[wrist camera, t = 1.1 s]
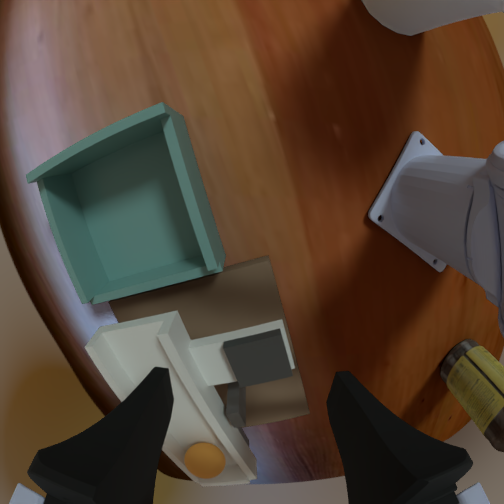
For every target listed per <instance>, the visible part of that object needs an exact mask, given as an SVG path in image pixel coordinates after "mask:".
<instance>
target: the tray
mask: <svg viewBox="0 0 504 504" xmlns="http://www.w3.org/2000/svg"><path fill="white" fill-rule="evenodd" d="M85 349H86V350H87V352H88V354H89V355H90V357H91V359H92V360H93V362H94V363H95V365H96V366H97V368H98V369H99V371H100V372H101V374H102V375H103V377H104V378H105V380H106V381H107V383H108V384H109V386H110V387H111V388H112V390H113V391H114V392H115V394H116V395H117V397H118V398H119V399H120V401H121V402H122V401H123V400H125V399H126V398H127V397H128V396H129V394H130V393H131V392H132V391H133V390H134V389H135V388H136V387H137V386H138V385H139V384H140V383H141V382H142V381H143V379H144V378H145V377H146V376H147V375H148V374H149V372H150V371H151V370H152V369H153V368H154V367H163V368H169V373H170V379H171V385H172V391H173V396H174V403H173V409H172V415H171V420H170V424H169V427H168V430H167V434H166V437H165V440H164V444H163V447H162V450H163V451H164V452H165V453H166V455H167V456H168V457H169V458H170V459H171V460H172V461H173V462H174V463H175V464H176V465H177V466H178V467H179V468H180V469H181V470H183V471H184V472H185V473H186V474H187V475H188V476H189V477H190V478H191V479H192V480H193V481H194V482H196V483H199V484H200V485H201V486H228V485H241V484H250V480H253V479H257V467H256V458H255V456H254V455H253V453H252V451H251V450H250V448H249V440H248V438H247V436H246V435H245V433H244V431H243V429H242V428H241V427H238V428H234V427H233V425H232V424H231V422H230V420H229V419H228V417H227V415H226V407H225V406H224V404H223V402H222V400H221V398H220V396H219V395H218V393H217V391H216V389H215V387H214V385H219V384H225V383H230V382H236V381H238V383H239V386H240V388H241V387H247V386H252V385H257V384H261V383H266V382H270V381H275V380H279V379H283V378H288V377H292V376H293V373H292V369H294V368H295V366H294V361H293V357H292V354H291V350H290V346H289V342H288V339H287V335H286V331H285V328H284V324H283V320H282V319H281V320H277V321H273V322H269V323H265V324H261V325H257V326H253V327H249V328H244V329H240V330H236V331H231V332H227V333H222V334H218V335H213V336H208V337H204V338H199V339H194V340H191V339H190V337H189V335H188V333H187V330H186V328H185V326H184V324H183V322H182V320H181V317H180V315H179V313H178V310H177V311H172V312H168V313H164V314H159V315H155V316H150V317H145V318H141V319H136V320H131V321H126V322H122V323H117V324H112V325H107V326H102V327H100V328H99V329H98V330H97V331H96V333H95V334H94V335H93V337H92V338H91V339H90V341H89V342H88V343H87V345H86V346H85ZM197 443H210V444H213V445H215V446H217V447H218V448H219V449H220V450H221V451H222V452H223V454H224V456H225V460H226V464H225V468H224V470H223V471H222V472H221V473H220V474H219V475H218V476H216V477H213V478H209V479H204V478H199V477H196V476H194V475H193V474H192V473H190V472H189V471H188V469H187V468H186V466H185V462H184V457H185V454H186V452H187V450H188V449H189V448H190V447H191V446H193V445H195V444H197Z"/></svg>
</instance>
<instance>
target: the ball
mask: <svg viewBox="0 0 504 504" xmlns="http://www.w3.org/2000/svg"><path fill="white" fill-rule="evenodd" d="M184 462H185V466H186V468H187V469H188V471H189V472H190V473H192V474H193V475H194V476H196V477H199V478H204V479H209V478H213V477H216V476H218V475H219V474H220V473H221V472H222V471H223V470H224V468H225V464H226V460H225V456H224V454H223V452H222V451H221V450H220V449H219V448H218V447H217V446H215V445H213V444H210V443H197V444H195V445H193V446H191V447H190V448H189V449H188V450H187V452H186V454H185V457H184Z"/></svg>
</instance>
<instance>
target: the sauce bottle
mask: <svg viewBox="0 0 504 504" xmlns="http://www.w3.org/2000/svg"><path fill="white" fill-rule="evenodd" d="M440 375H441V378H442V380H443V381H444V382H445V383H446V384H447V387H448V389H449V390H450V391H451V392H452V394H453V395H454V396H455V397H456V399H457V400H458V401H459V403H460V404H461V405H462V406H463V408H464V409H465V410H466V412H467V413H468V414H469V416H470V417H471V418H472V420H473V421H474V422H475V424H476V425H477V427H478V428H479V429H480V431H481V432H482V434H483V435H484V436H485V437H486V438H487V439H488V440H489V441H490V443H491V445H492V446H493V447H494V448H495V449H496V450H498V451H501V452H504V366H503V365H502V364H501V363H499V362H498V361H497V360H496V359H495V358H494V357H493V356H492V355H491V354H490V353H489V352H488V351H487V350H486V349H485V348H484V347H482V346H479V345H478V343H477V342H475V341H474V340H471V339H466V340H464V341H462V342H460V343H459V344H458V345H456V346H455V347H454V348H453V349H452V350H451V351H450V353H449V354H448V355H447V357H446V359H445V360H444V362H443V364H442V367H441V374H440Z"/></svg>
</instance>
